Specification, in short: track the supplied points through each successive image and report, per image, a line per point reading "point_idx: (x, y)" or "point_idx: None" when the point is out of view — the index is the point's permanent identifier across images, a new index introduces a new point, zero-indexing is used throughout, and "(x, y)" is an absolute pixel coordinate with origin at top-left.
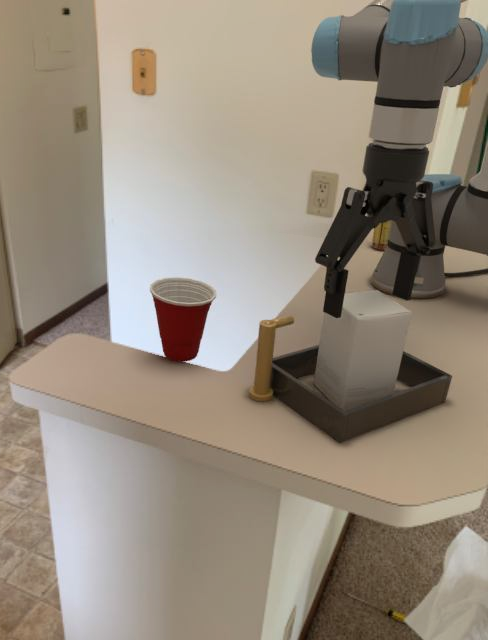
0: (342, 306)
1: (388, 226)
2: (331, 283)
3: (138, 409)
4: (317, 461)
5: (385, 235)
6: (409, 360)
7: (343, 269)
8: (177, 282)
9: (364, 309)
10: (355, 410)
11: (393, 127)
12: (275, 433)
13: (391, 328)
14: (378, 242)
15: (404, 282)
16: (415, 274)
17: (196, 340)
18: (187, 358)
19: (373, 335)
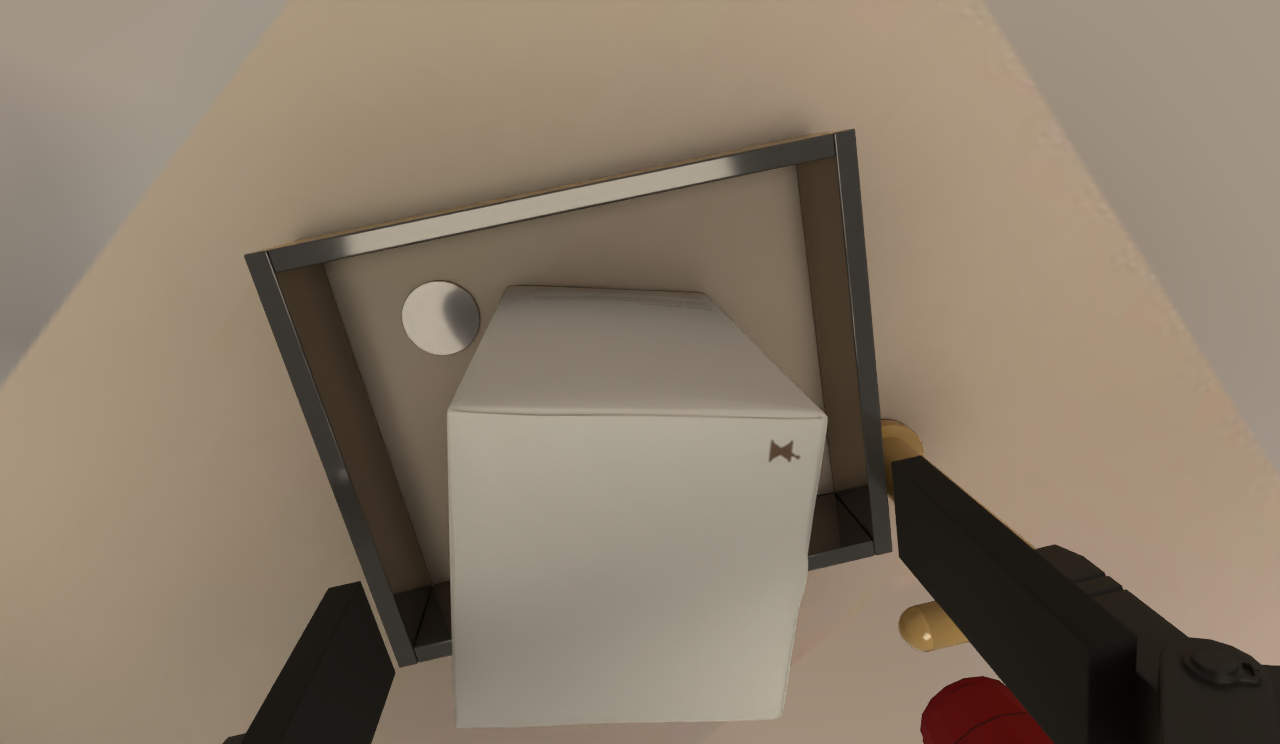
0: (925, 491)
1: None
2: (1125, 592)
3: (1217, 475)
4: (931, 69)
5: None
6: (342, 436)
7: (1108, 676)
8: None
9: (716, 507)
10: (799, 144)
11: None
12: (957, 250)
13: (583, 375)
14: None
15: (342, 691)
16: (259, 715)
17: (991, 726)
18: (978, 683)
19: (684, 369)
